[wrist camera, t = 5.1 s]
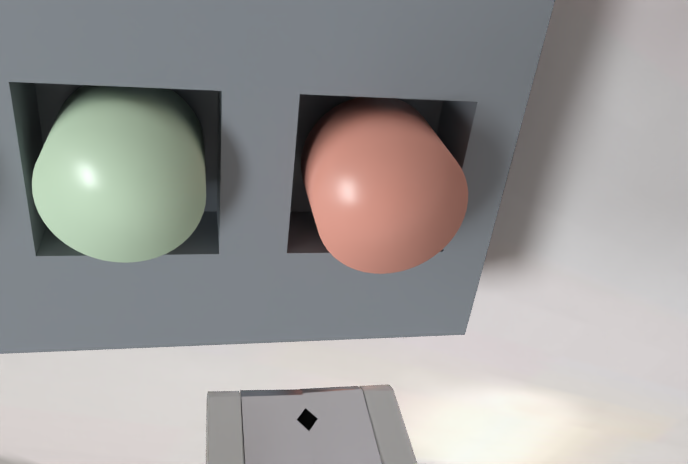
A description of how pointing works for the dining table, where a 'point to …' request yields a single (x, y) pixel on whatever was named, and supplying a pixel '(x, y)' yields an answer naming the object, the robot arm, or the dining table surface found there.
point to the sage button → (122, 173)
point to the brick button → (382, 185)
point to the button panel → (256, 162)
